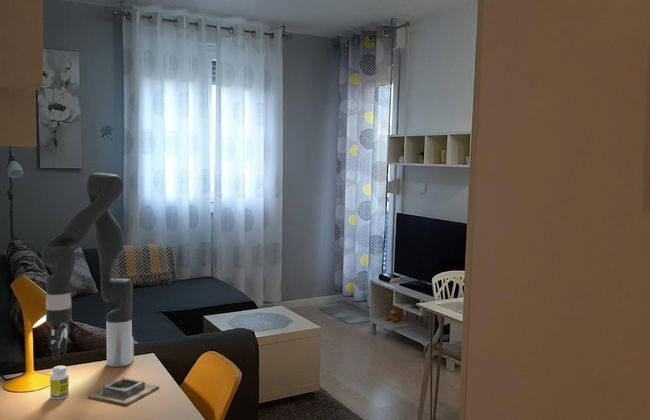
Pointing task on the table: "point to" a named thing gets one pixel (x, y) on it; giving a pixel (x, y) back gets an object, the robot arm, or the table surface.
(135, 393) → the bottle caddy
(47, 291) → the robot arm
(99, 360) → the table surface
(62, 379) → the supplement bottle
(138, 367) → the table surface
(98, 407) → the table surface
